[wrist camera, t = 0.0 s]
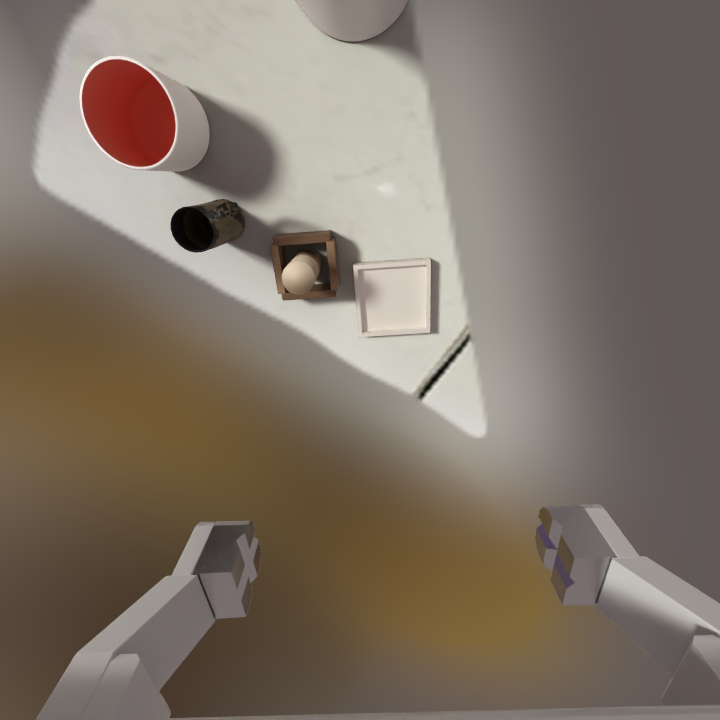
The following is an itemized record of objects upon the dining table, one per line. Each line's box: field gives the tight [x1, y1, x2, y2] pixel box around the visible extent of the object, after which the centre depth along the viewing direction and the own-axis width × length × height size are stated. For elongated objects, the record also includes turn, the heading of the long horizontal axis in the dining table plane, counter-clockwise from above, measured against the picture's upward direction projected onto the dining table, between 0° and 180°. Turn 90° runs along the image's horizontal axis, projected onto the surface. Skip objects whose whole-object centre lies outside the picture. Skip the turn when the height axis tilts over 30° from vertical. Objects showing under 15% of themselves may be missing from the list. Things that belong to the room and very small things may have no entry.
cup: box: [80, 56, 210, 172], centre depth 43 cm, size 10×10×10 cm
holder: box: [270, 230, 340, 300], centre depth 53 cm, size 8×8×4 cm
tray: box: [353, 258, 431, 337], centre depth 56 cm, size 11×11×2 cm
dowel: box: [282, 249, 322, 295], centre depth 50 cm, size 4×4×10 cm
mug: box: [171, 199, 245, 253], centre depth 47 cm, size 8×6×12 cm
